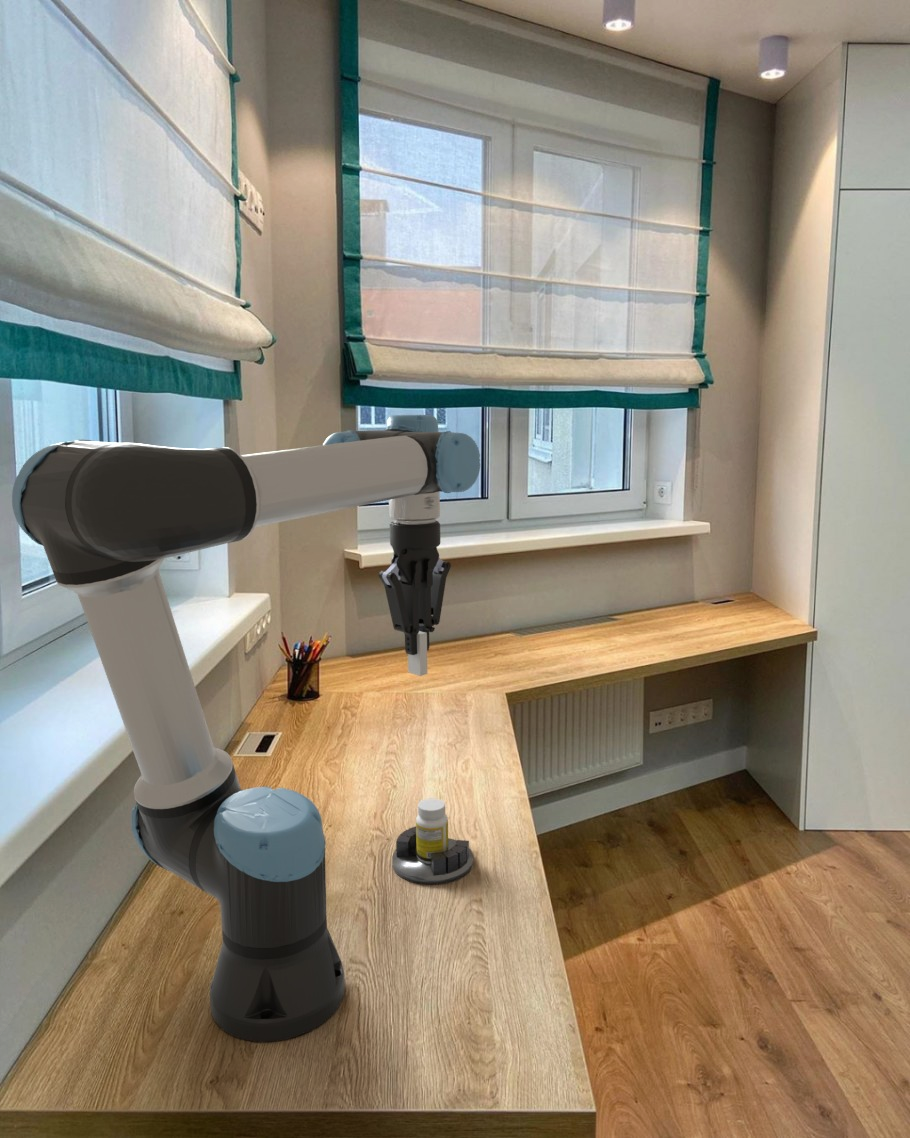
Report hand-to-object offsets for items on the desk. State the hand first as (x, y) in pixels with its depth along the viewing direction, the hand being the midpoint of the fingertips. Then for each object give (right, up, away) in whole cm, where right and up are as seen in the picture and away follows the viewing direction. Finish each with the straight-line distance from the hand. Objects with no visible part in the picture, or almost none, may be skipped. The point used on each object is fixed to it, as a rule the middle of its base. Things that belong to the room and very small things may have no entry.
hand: (417, 673), depth 133 cm
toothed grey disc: (+2, -28, -4) cm, 28 cm away
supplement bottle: (+2, -27, -4) cm, 27 cm away
